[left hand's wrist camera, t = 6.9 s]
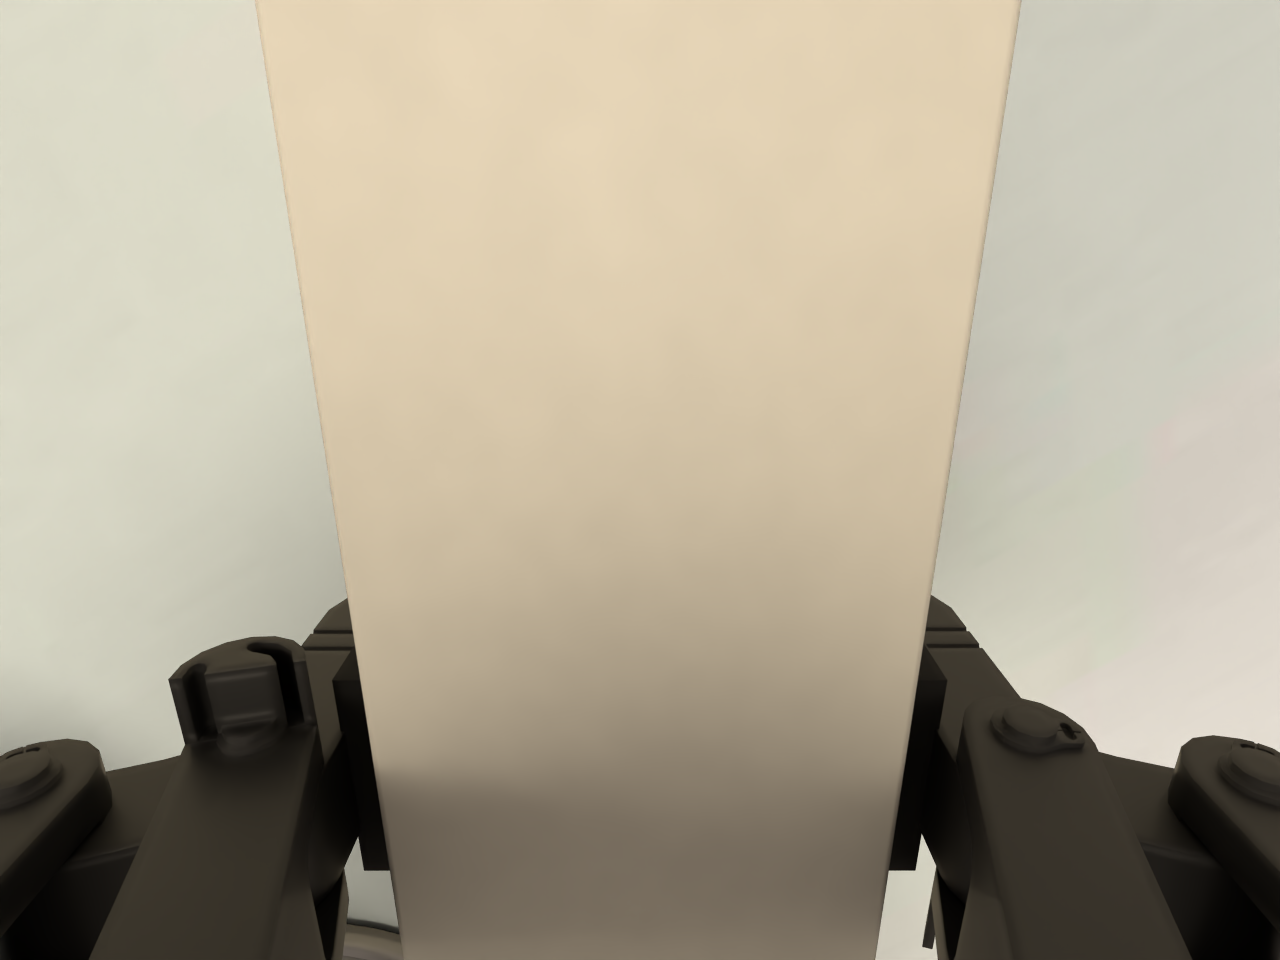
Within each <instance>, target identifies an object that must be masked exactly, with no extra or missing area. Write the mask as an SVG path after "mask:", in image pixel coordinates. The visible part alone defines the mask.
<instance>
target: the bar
mask: <svg viewBox="0 0 1280 960" xmlns="http://www.w3.org/2000/svg"><path fill="white" fill-rule="evenodd" d="M255 4H256V10H257V17H258V23H259V30H260V36H261V43H262V49H263V55H264V62H265V68H266V75H267V81H268V88H269V94H270V101H271V107H272V113H273V120H274V126H275V133H276V139H277V146H278V152H279V159H280V165H281V171H282V178H283V184H284V191H285V197H286V204H287V210H288V217H289V223H290V229H291V236H292V242H293V249H294V255H295V262H296V268H297V275H298V281H299V287H300V294H301V300H302V307H303V313H304V320H305V326H306V332H307V339H308V345H309V352H310V358H311V365H312V371H313V378H314V384H315V390H316V397H317V403H318V410H319V416H320V423H321V429H322V436H323V442H324V448H325V455H326V461H327V468H328V474H329V481H330V487H331V494H332V500H333V506H334V513H335V519H336V526H337V532H338V539H339V545H340V552H341V558H342V564H343V571H344V577H345V584H346V590H347V597H348V603H349V609H350V616H351V622H352V629H353V635H354V642H355V648H356V655H357V661H358V667H359V674H360V680H361V687H362V693H363V700H364V706H365V713H366V719H367V725H368V732H369V738H370V745H371V751H372V758H373V764H374V771H375V777H376V783H377V790H378V796H379V803H380V809H381V816H382V822H383V829H384V835H385V841H386V848H387V854H388V861H389V867H390V874H391V880H392V886H393V893H394V899H395V906H396V912H397V919H398V925H399V932H400V938H401V944H402V951H403V957H404V960H875V957H876V950H877V944H878V937H879V931H880V924H881V917H882V911H883V904H884V898H885V891H886V885H887V878H888V872H889V865H890V858H891V852H892V845H893V839H894V832H895V826H896V819H897V813H898V806H899V800H900V793H901V786H902V780H903V773H904V767H905V760H906V754H907V747H908V741H909V734H910V727H911V721H912V714H913V708H914V701H915V695H916V688H917V682H918V675H919V668H920V662H921V655H922V649H923V642H924V636H925V629H926V623H927V616H928V609H929V603H930V596H931V590H932V583H933V577H934V570H935V564H936V557H937V551H938V544H939V537H940V531H941V524H942V518H943V511H944V505H945V498H946V492H947V485H948V478H949V472H950V465H951V459H952V452H953V446H954V439H955V433H956V426H957V419H958V413H959V406H960V400H961V393H962V387H963V380H964V374H965V367H966V361H967V354H968V347H969V341H970V334H971V328H972V321H973V315H974V308H975V302H976V295H977V288H978V282H979V275H980V269H981V262H982V256H983V249H984V243H985V236H986V229H987V223H988V216H989V210H990V203H991V197H992V190H993V184H994V177H995V171H996V164H997V157H998V151H999V144H1000V138H1001V131H1002V125H1003V118H1004V112H1005V105H1006V98H1007V92H1008V85H1009V79H1010V72H1011V66H1012V59H1013V53H1014V46H1015V39H1016V33H1017V26H1018V20H1019V13H1020V7H1021V0H255Z"/></svg>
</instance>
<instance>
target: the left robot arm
mask: <svg viewBox="0 0 1280 960" xmlns="http://www.w3.org/2000/svg"><path fill="white" fill-rule="evenodd" d="M168 680H169V684H170V688H171V692H172V695H173V699H174V703H175V707H176V711H177V715H178V718H179V722H180V726H181V730H182V734H183V738H184V742H185V746H184V748H183V751H182V753H181V755H179V756H176V757H172V758H168V759H165V760H160V761H156V762H151V763H146V764H141V765H136V766H132V767H127V768H122V769H117V770H113V771H108V772H106V771H105V768H104V765H103V761H102V758H101V755H100V752H99V750H98V749H97V748H95V747H94V746H93V745H92V744H90V743H89V742H87V741H80V740H73V739H62V740H54V741H46V742H39V743H35V744H31V745H27V746H26V747H20V748H17V749H15V750H12V751H9V752H7V753H5V754H4V755H2V756H0V960H404V957H403V951H402V944H401V938H400V935H398V934H395V933H391V932H388V931H384V930H379V929H374V928H369V927H363V926H356V925H348V924H346V922H347V913H348V904H349V896H348V889H347V882H346V877H345V871H344V867H345V864H346V862H347V860H348V858H349V855H350V853H351V851H352V849H353V846H354V844H355V842H356V840H357V837H359V843H360V849H361V855H362V861H363V867H364V871H390V867H389V861H388V854H387V848H386V841H385V835H384V829H383V822H382V816H381V809H380V803H379V796H378V790H377V783H376V777H375V771H374V764H373V758H372V751H371V745H370V738H369V732H368V725H367V719H366V713H365V706H364V700H363V693H362V687H361V680H360V674H359V667H358V661H357V655H356V648H355V642H354V635H353V629H352V622H351V616H350V609H349V603H348V598H347V599H345V600H344V601H342V602H341V603H339V604H338V605H336V606H335V607H333V608H331V609H330V610H329V611H328V612H327V613H326V615H325V616H324V617H323V618H322V620H321V621H320V622H319V624H318V625H317V626H316V628H315V629H314V633H313V634H310V635H309V637H308V638H307V639H306V641H305V642H304V643H303V645H302V646H300V645H299V644H297V643H296V642H295V641H294V640H290V639H285V638H281V637H276V636H268V637H250V638H245V639H241V640H236V641H231V642H227V643H224V644H221V645H219V646H216V647H214V648H211V649H209V650H206V651H204V652H201V653H200V654H198V655H196V656H195V657H193V658H192V659H190V660H189V661H187V662H185V663H184V664H182V665H181V666H180V667H179V668H178V669H177V670H176V672H175V673H174V674H173V675H172V676H171V677H170V678H169V679H168ZM921 834H922V835H923V837H924V839H925V842H926V844H927V846H928V848H929V851H930V853H931V855H932V857H933V859H934V862H935V864H936V871H935V877H934V882H933V888H932V893H931V899H930V904H929V910H928V915H927V921H926V926H925V932H924V939H923V946H922V947H925V948H930V949H932V948H933V943H934V938H936V947H937V955H938V960H1280V752H1278V751H1276V750H1275V749H1273V748H1270V747H1267V746H1264V745H1262V744H1259V743H1258V744H1255V743H1254V742H1252V741H1247V740H1243V739H1238V738H1230V737H1222V736H1214V735H1212V736H1205V737H1197V738H1192V739H1191V740H1190V741H1188V742H1187V743H1186V744H1184V745H1183V746H1182V747H1181V749H1180V753H1179V756H1178V759H1177V762H1176V766H1175V769H1174V768H1169V767H1164V766H1159V765H1154V764H1150V763H1145V762H1140V761H1135V760H1130V759H1125V758H1121V757H1116V756H1112V755H1109V754H1105V753H1101V752H1098V749H1097V747H1096V745H1095V743H1094V742H1093V740H1092V739H1091V738H1090V736H1089V735H1088V734H1087V732H1086V731H1085V730H1084V728H1083V727H1081V726H1080V725H1078V724H1077V723H1076V722H1074V721H1073V720H1072V719H1070V718H1069V717H1068V716H1066V715H1065V714H1063V713H1061V712H1059V711H1057V710H1054V709H1052V708H1050V707H1048V706H1046V705H1043V704H1041V703H1038V702H1034V701H1030V700H1026V699H1022V698H1020V696H1019V695H1018V694H1017V692H1016V691H1015V690H1014V689H1013V687H1012V686H1011V685H1010V683H1009V682H1008V681H1007V680H1006V678H1005V677H1004V676H1003V674H1002V673H1001V672H1000V670H999V669H998V668H997V667H996V665H995V664H994V663H993V661H992V660H991V659H990V658H989V656H988V655H987V654H986V652H985V651H984V650H983V648H979V643H978V642H977V641H976V639H975V638H974V637H973V635H972V634H971V633H970V632H969V631H966V626H965V625H964V624H963V623H962V621H961V620H960V619H959V617H958V616H957V615H956V613H955V612H954V611H953V610H952V608H951V607H949V606H948V605H946V604H944V603H943V602H941V601H940V600H938V599H937V598H935V597H934V596H932V595H931V596H930V603H929V609H928V616H927V623H926V629H925V636H924V642H923V649H922V655H921V662H920V668H919V675H918V682H917V688H916V695H915V701H914V708H913V714H912V721H911V727H910V734H909V741H908V747H907V754H906V760H905V767H904V773H903V780H902V786H901V793H900V800H899V806H898V813H897V819H896V826H895V832H894V839H893V845H892V852H891V858H890V865H889V870H916V864H917V858H918V852H919V846H920V840H921Z"/></svg>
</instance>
